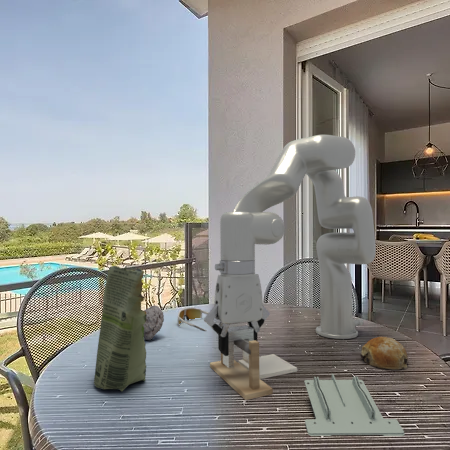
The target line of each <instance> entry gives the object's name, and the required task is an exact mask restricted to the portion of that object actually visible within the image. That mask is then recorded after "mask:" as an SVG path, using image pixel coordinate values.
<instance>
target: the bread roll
mask: <svg viewBox="0 0 450 450" xmlns="http://www.w3.org/2000/svg"><path fill="white" fill-rule="evenodd" d="M359 357H360V358H361V359H362V360H364V362H365V363H366V364H367V365H370V366H371V367H374V368H378V369H380V370H381V369H382V370H383V369H385V370H391V371H392V370H393V371H396V370H397V371H399V370H400V371H401V370H405V369H408V365H407V363H408V360H409V358H408V357H409V355H408V353H407V350H406V348H405V346H404V345H403V344H402V343H400V342H399V341H397V340H396V339H395V338H393V337H388V336H378V337H374V338H371V339H369V340H368V341H367V342H366V343H364V345H362V346H361V353H360V355H359Z"/></svg>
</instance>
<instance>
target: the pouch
mask: <svg viewBox="0 0 450 450" xmlns="http://www.w3.org/2000/svg"><path fill="white" fill-rule="evenodd" d="M144 273H145V271H144V270H143V269H142V267H139V268H137V269H136V268H135V270H134V269H131V268H130V269H127V264H126V265H125V267H124V268H123V267H122V268H121V267H120V265H119V266H118V265H112V266H109V268H108V270H107V276H106V280H105V281H106V282H105V287H104V290H103V297H102V300H103V301H102V302H103V303H102V315H101V319H100V322H101V323H100V328H99V329H100V330H99V336H98V341H97V342H98V343H97V344H98V345H97V351H96V352H97V353H96V360H95V371H94V378H93V384H94V386H95V387H96V388H98V389H101V390H119V391H121V392H123V391H124V390H125V389H126V388H127V387H128V386H129V385H132V384H135V383H137V382H140V381H142V382H146V373H147V363H146V361H147V350H146V347H147V345H146V342H145V341H146V340H145V339H144V326H143V325H144V324H145V322H146V315H147V314H146V312H145V311H144V310H142V302H143V301H145V297H144V295H143V294H142V291H143V285H144V283H143V278H144Z"/></svg>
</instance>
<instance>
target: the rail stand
mask: <svg viewBox="0 0 450 450" xmlns="http://www.w3.org/2000/svg"><path fill="white" fill-rule="evenodd" d="M234 346H236V347H237V348H239V349H241V350H243V351H245V352H246V353H248V354H249V371H248V370H247V369H246V368H244V367H243V366H242V365H241V364H239V363H238V361H236V359H234V367H232V368H228V367H227V366H226V365H224V364H223V354H222V353H221V352H220V360H217V361H212V362H209V367H210V369H212V371H214V372H215V373H216V374H217V375H218V376H219V377H220V378H221V379H222V380H224V381H225V382H226V383H227V384H228V386H229V387H231V389H233V390H234V391H235V392H236V393H237V394H239V395H240V397H241V398H243V399H244V400H245V401H248V400H253V399H256V398H262V397H266V396H269V395H273V394H274V393H273V392H274V389H273V388H272V387H271V386H270V385H269V384H267V383H266V382H265V381H263V379H259V356H260V342H259V341H256V340H254V341H249V343H247V342H246V341H244V340H236V341H234Z"/></svg>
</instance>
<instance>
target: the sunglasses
mask: <svg viewBox="0 0 450 450" xmlns="http://www.w3.org/2000/svg"><path fill="white" fill-rule="evenodd" d="M209 312H210V311H209ZM209 312H208V311H206V310H203V309H201V308H199V307H198V308H197V307H184V308H182V309H180V310H179V311H178V313H177V326H178V327H180V326H181V324H182V323H181V322H183V323H184V324H187V325H188V326H190V327H193V328H196V329H199V330H201V331H202V332H208V330H206V329H205V328H203V327H200V326H199V325H196V324H193V323H190V322H189V321H187V320H189V319H195V318H202V317H203V314H204V315H208V313H209ZM202 319H203V318H202ZM180 323H181V324H180ZM179 324H180V325H179Z"/></svg>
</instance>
